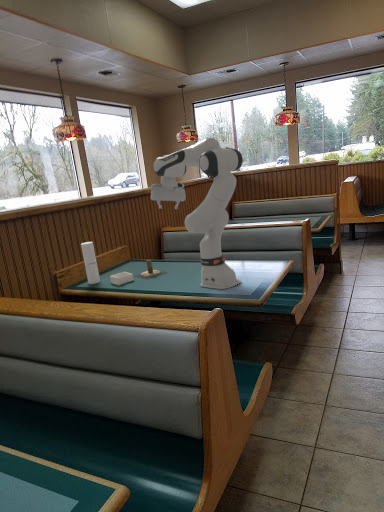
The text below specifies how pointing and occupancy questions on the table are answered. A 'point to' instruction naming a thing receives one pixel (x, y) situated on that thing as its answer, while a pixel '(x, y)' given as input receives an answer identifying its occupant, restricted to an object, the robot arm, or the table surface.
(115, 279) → the white hollow square box
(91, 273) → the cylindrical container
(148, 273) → the lid
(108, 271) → the table surface
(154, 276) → the mat
